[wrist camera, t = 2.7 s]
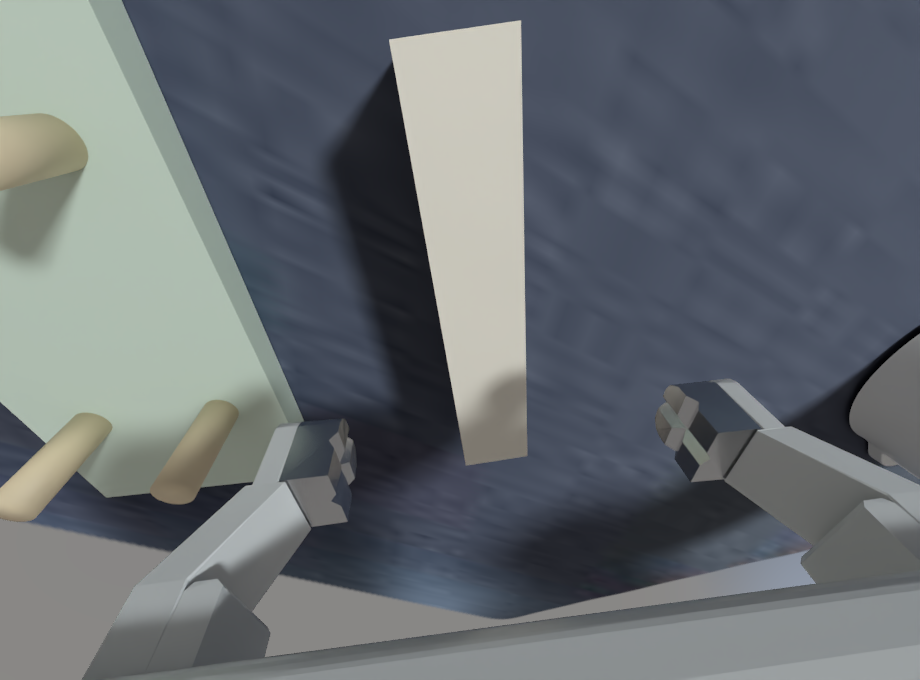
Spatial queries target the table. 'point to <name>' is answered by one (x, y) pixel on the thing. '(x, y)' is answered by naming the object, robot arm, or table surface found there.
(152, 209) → the rack
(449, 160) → the off-white rectangular block
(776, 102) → the table surface
